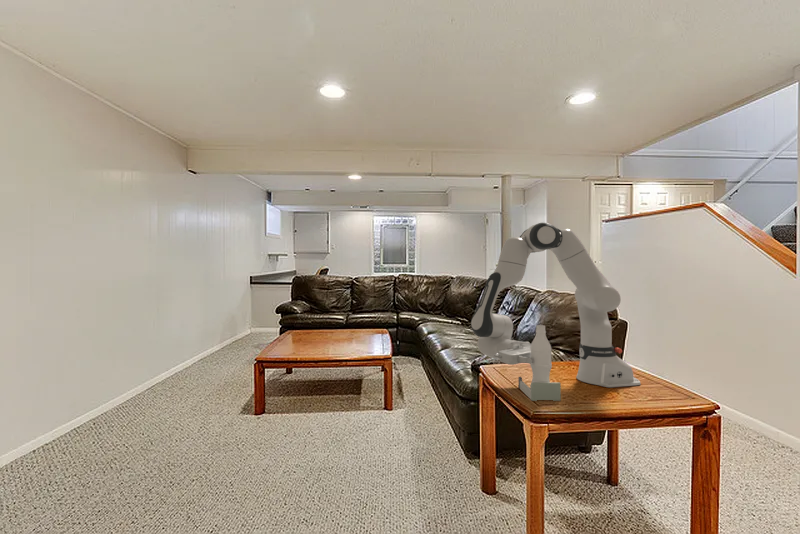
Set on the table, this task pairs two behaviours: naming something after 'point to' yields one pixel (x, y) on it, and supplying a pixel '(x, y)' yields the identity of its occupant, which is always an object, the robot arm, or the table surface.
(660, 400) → the table surface
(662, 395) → the table surface
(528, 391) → the bay
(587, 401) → the table surface
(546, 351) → the water bottle
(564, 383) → the table surface
